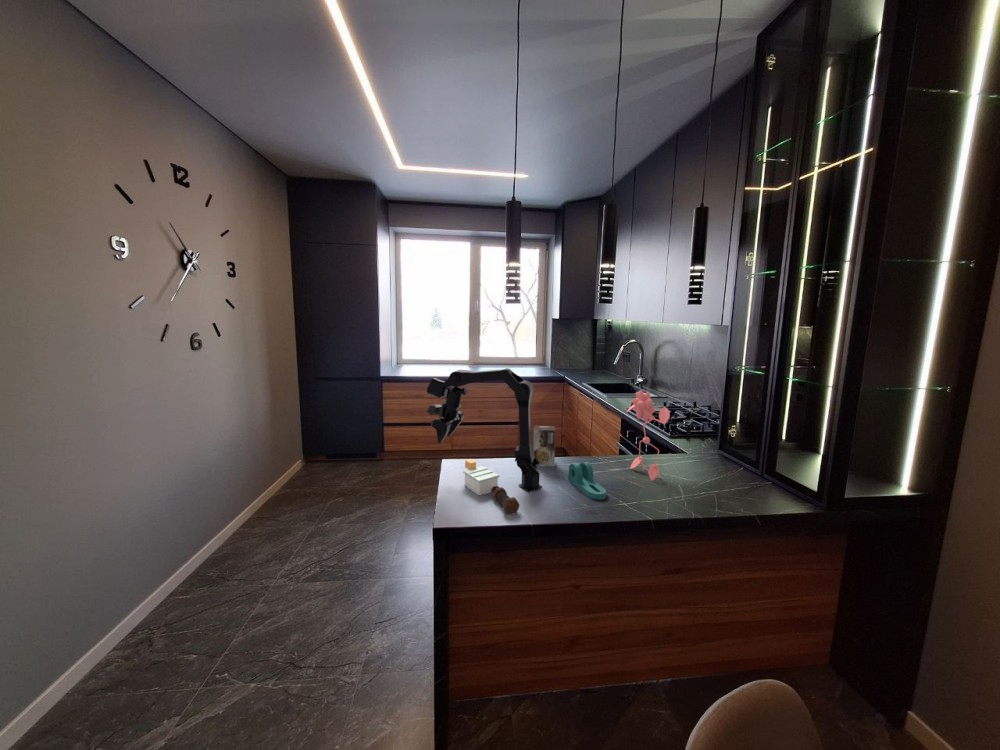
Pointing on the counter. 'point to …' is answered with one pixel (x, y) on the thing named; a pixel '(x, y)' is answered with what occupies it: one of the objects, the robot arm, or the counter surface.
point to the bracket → (585, 480)
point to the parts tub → (480, 485)
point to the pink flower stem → (645, 410)
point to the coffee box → (544, 445)
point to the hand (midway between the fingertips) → (443, 439)
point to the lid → (478, 472)
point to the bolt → (505, 500)
